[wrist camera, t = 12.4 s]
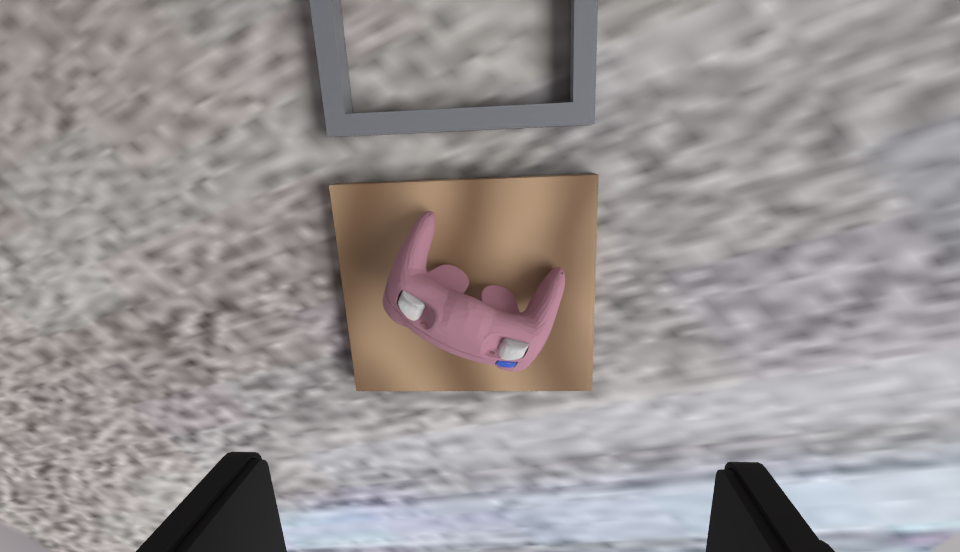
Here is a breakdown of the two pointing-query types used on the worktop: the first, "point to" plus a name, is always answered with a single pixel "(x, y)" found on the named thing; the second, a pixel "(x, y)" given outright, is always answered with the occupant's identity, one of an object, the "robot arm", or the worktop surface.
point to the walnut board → (470, 273)
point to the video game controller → (467, 307)
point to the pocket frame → (453, 119)
